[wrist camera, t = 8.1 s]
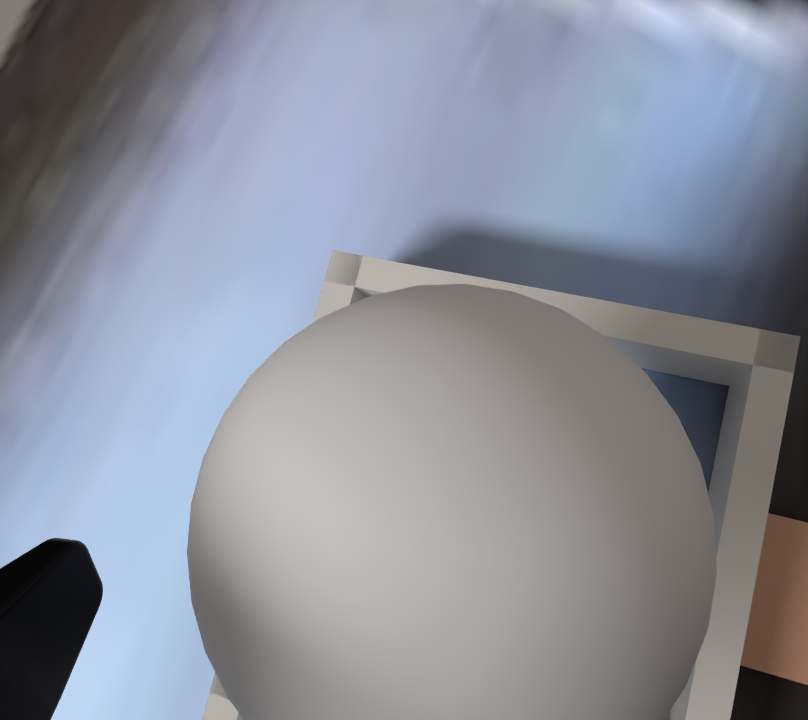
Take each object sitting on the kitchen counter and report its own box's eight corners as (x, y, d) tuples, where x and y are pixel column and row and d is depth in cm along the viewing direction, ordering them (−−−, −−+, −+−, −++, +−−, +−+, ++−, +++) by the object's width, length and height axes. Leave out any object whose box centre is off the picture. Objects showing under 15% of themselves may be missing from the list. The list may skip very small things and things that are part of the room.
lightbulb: (328, 464, 18) (-14, 396, 8) (559, 342, 17) (539, 82, 7) (443, 719, 16) (213, 1089, 6) (704, 594, 16) (964, 753, 5)
